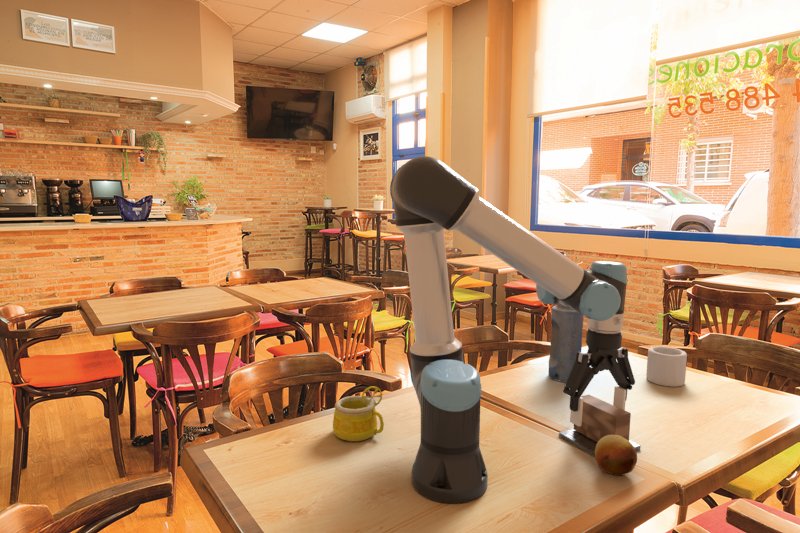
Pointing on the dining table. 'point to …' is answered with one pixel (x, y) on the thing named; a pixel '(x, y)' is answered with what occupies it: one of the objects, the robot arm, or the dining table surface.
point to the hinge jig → (585, 441)
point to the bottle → (564, 341)
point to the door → (603, 419)
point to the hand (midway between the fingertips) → (597, 419)
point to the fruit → (615, 455)
